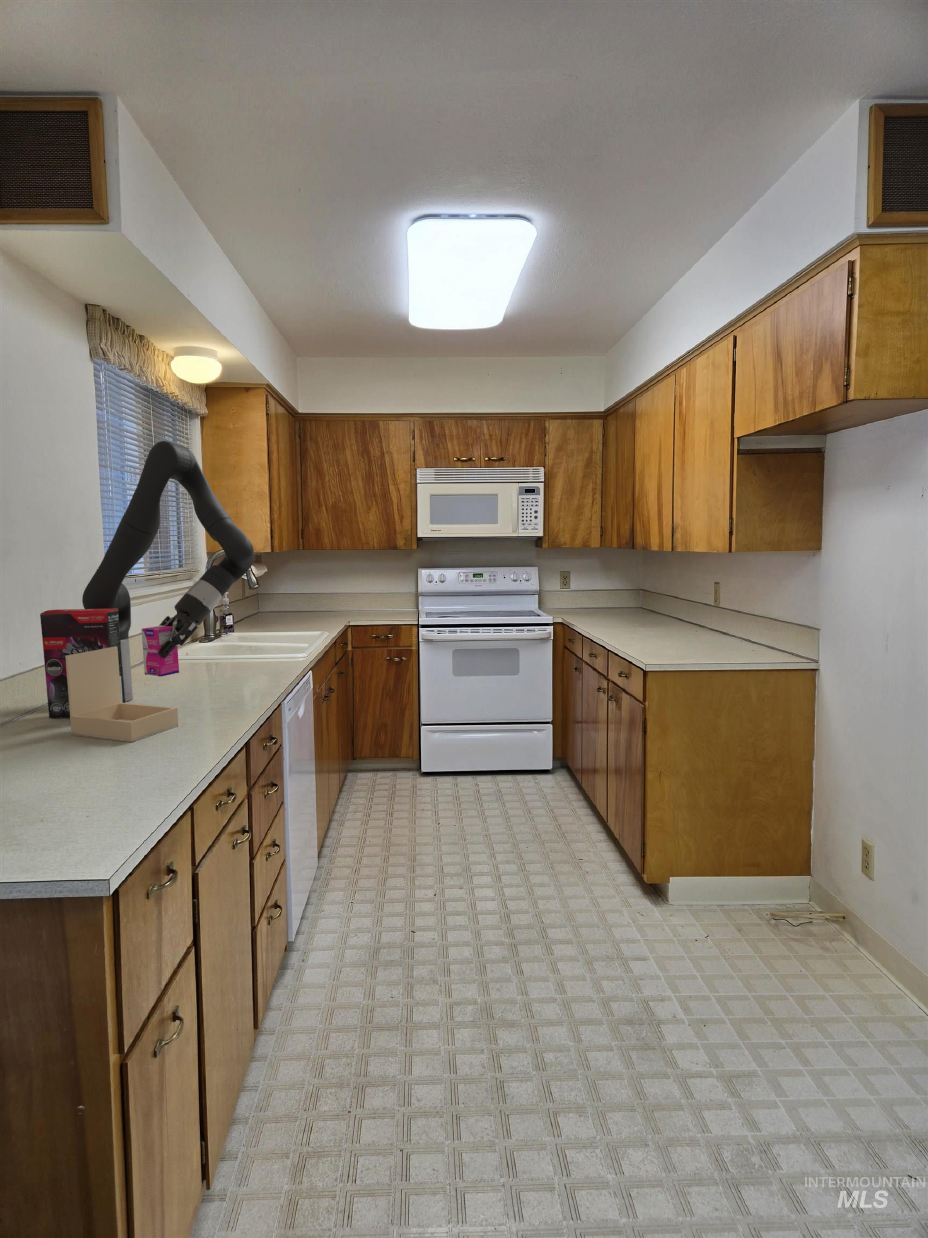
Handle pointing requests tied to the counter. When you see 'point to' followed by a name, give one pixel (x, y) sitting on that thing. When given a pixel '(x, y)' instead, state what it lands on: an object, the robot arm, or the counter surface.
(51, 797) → the counter surface
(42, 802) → the counter surface
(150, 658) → the supplement box
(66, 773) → the counter surface
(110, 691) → the mailer box
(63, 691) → the graphics card box
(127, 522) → the robot arm
